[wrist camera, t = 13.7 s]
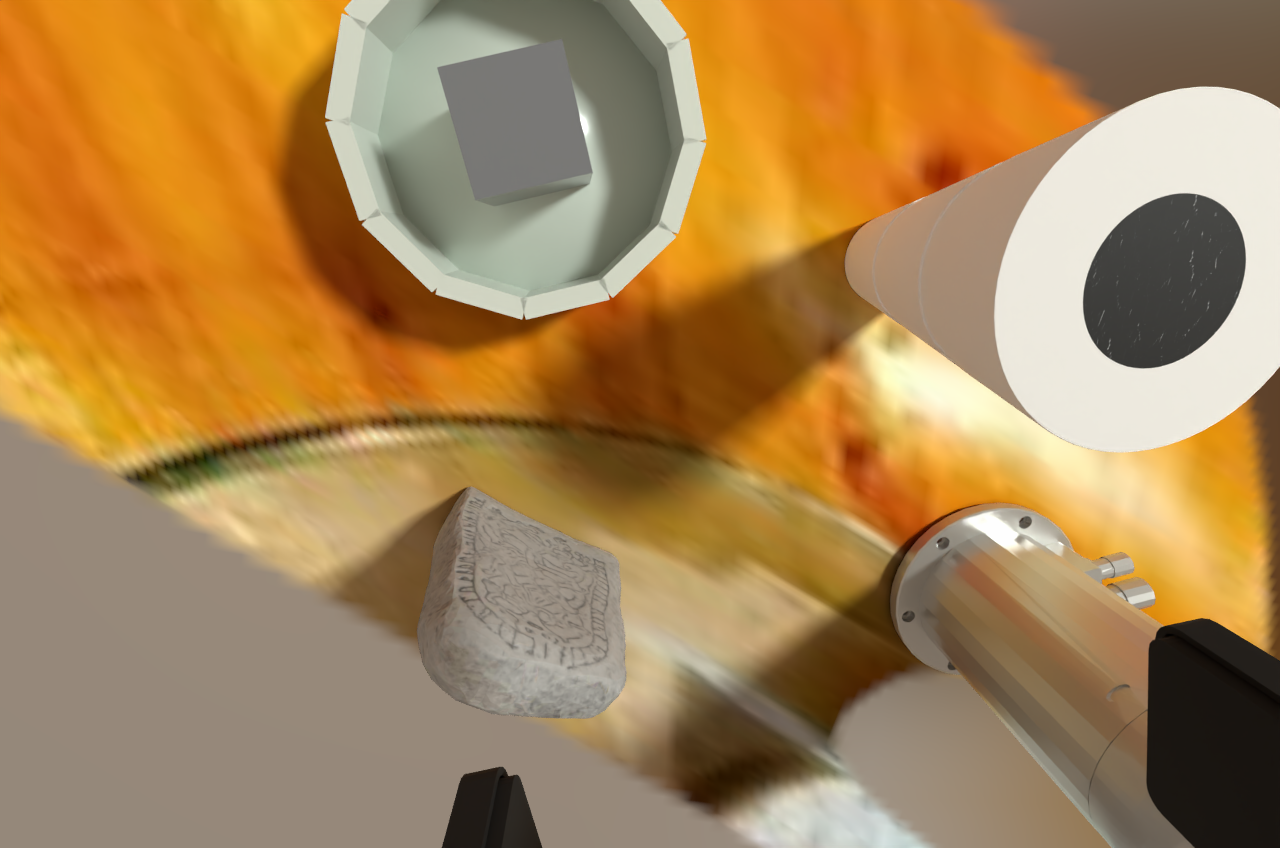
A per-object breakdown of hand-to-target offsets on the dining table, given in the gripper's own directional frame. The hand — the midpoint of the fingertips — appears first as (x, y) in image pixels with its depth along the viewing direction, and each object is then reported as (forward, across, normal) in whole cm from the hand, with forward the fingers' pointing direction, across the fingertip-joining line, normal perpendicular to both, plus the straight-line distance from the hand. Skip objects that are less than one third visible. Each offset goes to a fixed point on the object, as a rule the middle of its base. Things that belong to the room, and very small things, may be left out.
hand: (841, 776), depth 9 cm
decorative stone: (+29, +10, +8) cm, 32 cm away
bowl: (+28, +4, -14) cm, 32 cm away
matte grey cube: (+27, +4, -14) cm, 31 cm away
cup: (+29, -14, -4) cm, 33 cm away
